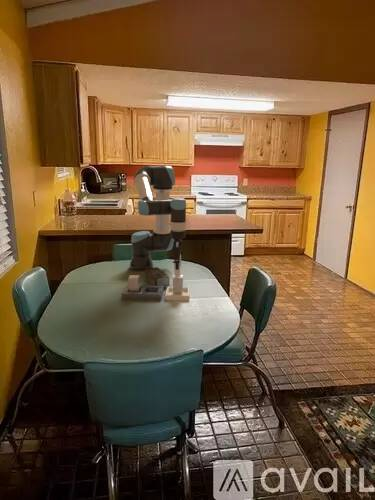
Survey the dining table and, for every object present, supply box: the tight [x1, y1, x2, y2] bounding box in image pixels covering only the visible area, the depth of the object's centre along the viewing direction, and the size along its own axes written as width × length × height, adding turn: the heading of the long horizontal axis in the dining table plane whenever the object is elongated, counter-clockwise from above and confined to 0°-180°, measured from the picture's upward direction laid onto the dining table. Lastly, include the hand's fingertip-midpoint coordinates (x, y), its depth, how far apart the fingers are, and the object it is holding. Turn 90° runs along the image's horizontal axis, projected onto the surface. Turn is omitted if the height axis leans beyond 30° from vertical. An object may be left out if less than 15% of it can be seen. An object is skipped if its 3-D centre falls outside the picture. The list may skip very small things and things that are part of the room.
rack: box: [121, 284, 165, 301], centre depth 176 cm, size 12×20×3 cm, turn 89°
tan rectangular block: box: [172, 274, 184, 295], centre depth 175 cm, size 5×5×10 cm
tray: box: [164, 286, 191, 301], centre depth 176 cm, size 12×12×3 cm
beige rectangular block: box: [128, 274, 141, 292], centre depth 175 cm, size 5×5×10 cm
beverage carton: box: [145, 266, 170, 288], centre depth 194 cm, size 8×19×7 cm, turn 25°
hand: (177, 270), depth 173 cm, fingers open, 13 cm apart
